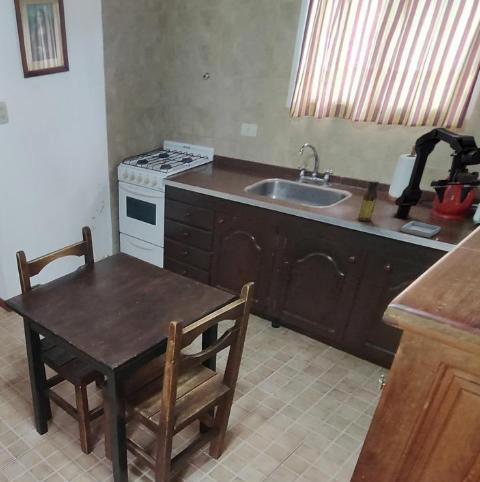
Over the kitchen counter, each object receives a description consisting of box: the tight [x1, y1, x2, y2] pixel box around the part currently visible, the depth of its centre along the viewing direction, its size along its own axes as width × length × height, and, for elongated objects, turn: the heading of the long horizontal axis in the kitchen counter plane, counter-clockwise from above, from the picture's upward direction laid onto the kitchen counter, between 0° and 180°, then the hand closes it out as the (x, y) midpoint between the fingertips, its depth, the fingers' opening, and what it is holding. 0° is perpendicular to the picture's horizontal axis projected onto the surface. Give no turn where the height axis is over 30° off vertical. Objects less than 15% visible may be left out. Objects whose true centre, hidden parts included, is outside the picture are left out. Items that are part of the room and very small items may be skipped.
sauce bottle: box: [357, 179, 380, 222], centre depth 244 cm, size 7×6×20 cm
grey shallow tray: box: [400, 220, 442, 239], centre depth 233 cm, size 12×13×2 cm
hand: (451, 203), depth 216 cm, fingers open, 9 cm apart
